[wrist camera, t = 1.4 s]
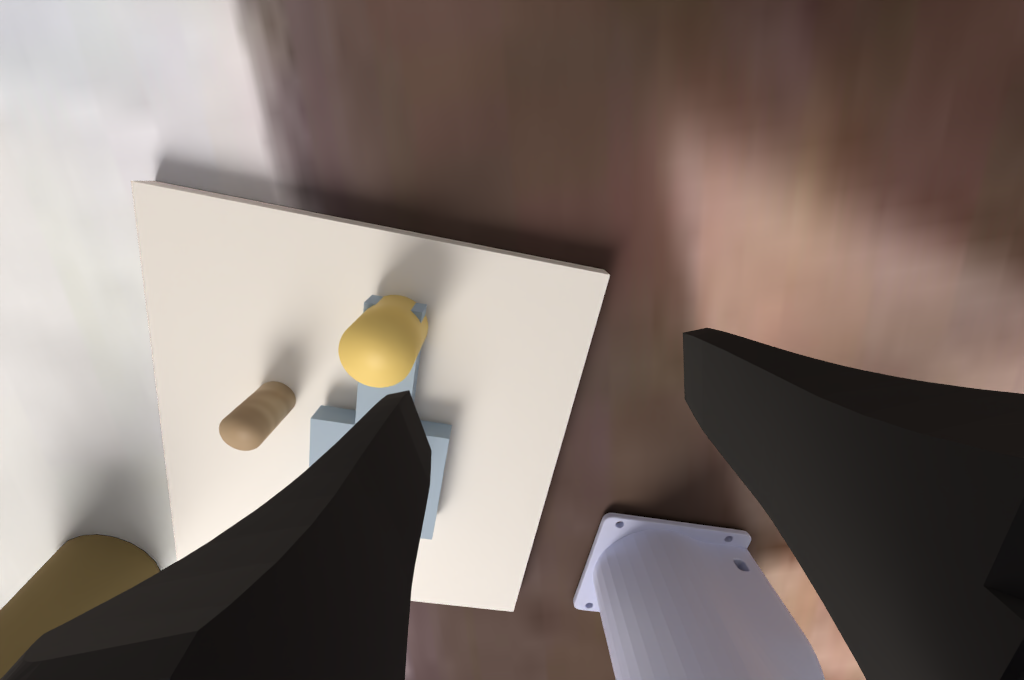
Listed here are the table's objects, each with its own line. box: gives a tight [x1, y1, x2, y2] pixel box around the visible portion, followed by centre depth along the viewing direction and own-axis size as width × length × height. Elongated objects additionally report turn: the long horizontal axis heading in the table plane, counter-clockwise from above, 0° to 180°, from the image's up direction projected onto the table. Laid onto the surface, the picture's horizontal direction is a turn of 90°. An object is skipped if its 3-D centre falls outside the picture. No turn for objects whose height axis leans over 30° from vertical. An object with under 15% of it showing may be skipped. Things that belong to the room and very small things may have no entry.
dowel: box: [219, 381, 296, 451], centre depth 19 cm, size 2×2×4 cm
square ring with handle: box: [309, 295, 452, 540], centre depth 19 cm, size 13×6×3 cm, turn 169°
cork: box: [0, 535, 160, 679], centre depth 20 cm, size 6×6×11 cm
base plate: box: [131, 181, 610, 612], centre depth 22 cm, size 20×22×1 cm
